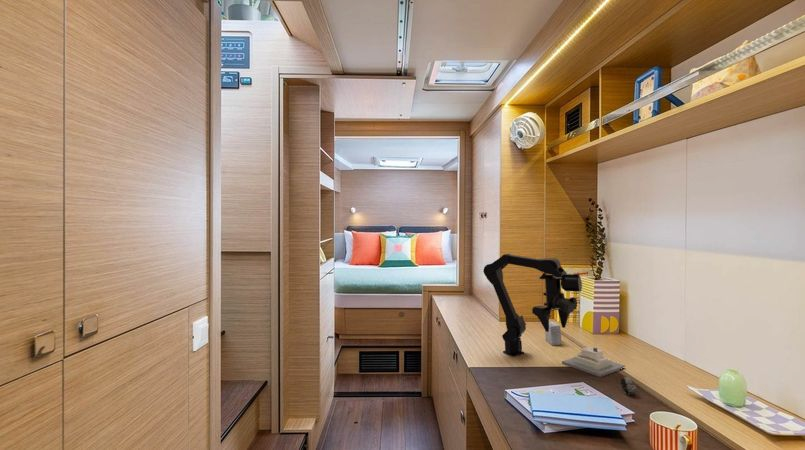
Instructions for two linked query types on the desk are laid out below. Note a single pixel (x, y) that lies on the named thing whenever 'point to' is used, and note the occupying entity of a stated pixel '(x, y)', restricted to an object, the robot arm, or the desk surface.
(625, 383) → the dark grey lumpy piece
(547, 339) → the medicine box
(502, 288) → the robot arm
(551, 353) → the desk surface
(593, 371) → the plate
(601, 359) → the servo block
